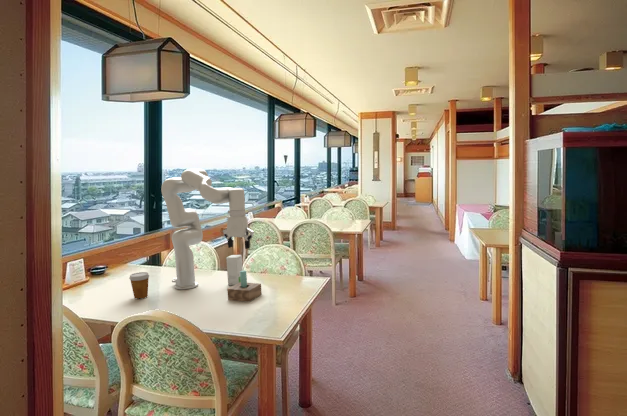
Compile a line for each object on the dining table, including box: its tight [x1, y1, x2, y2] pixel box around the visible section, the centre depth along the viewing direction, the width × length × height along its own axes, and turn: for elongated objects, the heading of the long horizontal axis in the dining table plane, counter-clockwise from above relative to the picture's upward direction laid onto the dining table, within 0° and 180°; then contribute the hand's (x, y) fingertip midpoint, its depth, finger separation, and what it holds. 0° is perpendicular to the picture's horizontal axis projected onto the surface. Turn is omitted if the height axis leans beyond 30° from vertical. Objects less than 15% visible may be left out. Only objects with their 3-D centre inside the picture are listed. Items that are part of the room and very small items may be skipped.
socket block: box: [227, 282, 263, 303], centre depth 207 cm, size 12×12×6 cm
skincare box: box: [225, 254, 244, 286], centre depth 232 cm, size 8×7×16 cm
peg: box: [240, 270, 248, 288], centre depth 207 cm, size 3×3×12 cm
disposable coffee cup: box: [128, 271, 150, 300], centre depth 213 cm, size 10×10×12 cm
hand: (238, 247), depth 207 cm, fingers open, 9 cm apart
